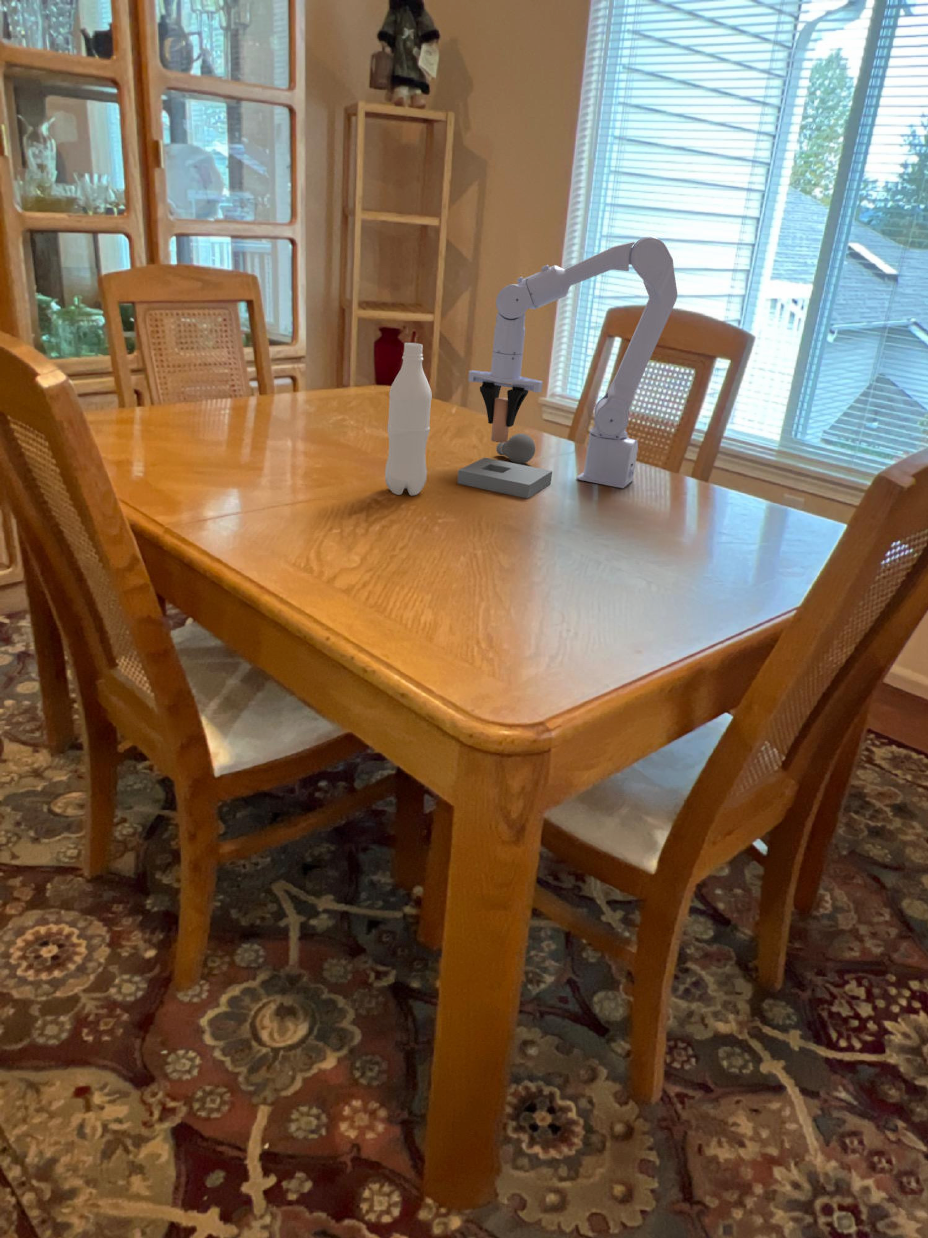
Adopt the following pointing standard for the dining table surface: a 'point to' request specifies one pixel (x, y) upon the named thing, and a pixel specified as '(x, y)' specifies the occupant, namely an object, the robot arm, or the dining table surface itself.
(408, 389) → the water bottle
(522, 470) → the socket board
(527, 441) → the light bulb
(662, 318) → the robot arm
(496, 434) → the peg
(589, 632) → the dining table surface
